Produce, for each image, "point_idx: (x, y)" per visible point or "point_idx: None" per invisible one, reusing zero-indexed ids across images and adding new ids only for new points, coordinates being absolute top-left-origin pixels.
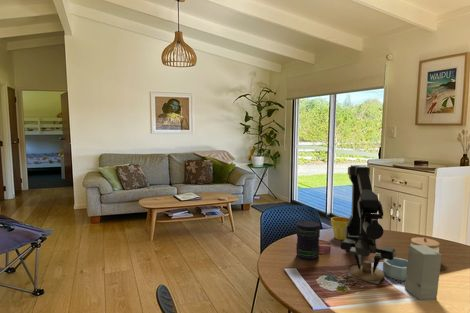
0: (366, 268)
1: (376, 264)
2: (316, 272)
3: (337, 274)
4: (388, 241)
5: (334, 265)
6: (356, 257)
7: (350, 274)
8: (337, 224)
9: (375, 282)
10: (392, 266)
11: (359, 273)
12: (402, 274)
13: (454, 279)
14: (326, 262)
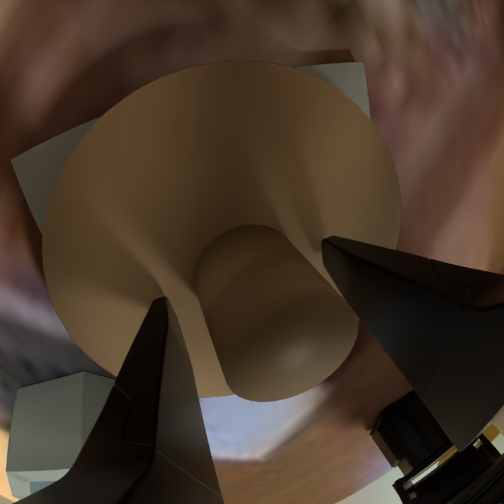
0: (243, 262)
1: (111, 401)
2: (488, 6)
3: (419, 43)
4: (316, 497)
5: (469, 191)
6: (473, 285)
7: (349, 96)
8: (487, 433)
9: (37, 146)
10: (63, 466)
11: (277, 138)
12: (11, 428)
13: (3, 487)
14: (497, 193)
